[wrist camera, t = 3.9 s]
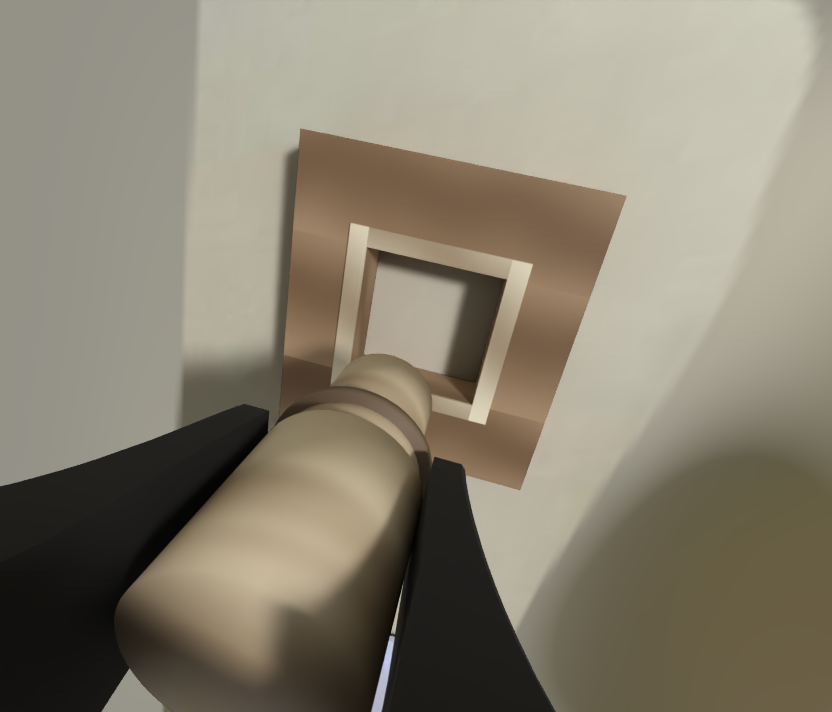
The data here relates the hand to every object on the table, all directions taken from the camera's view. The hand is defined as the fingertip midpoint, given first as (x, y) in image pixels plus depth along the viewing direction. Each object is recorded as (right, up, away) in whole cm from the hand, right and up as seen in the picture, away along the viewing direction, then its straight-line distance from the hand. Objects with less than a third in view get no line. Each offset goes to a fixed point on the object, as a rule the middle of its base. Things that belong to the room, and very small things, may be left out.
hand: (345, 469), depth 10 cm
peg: (+1, +1, +3) cm, 4 cm away
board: (+2, +4, +9) cm, 10 cm away
